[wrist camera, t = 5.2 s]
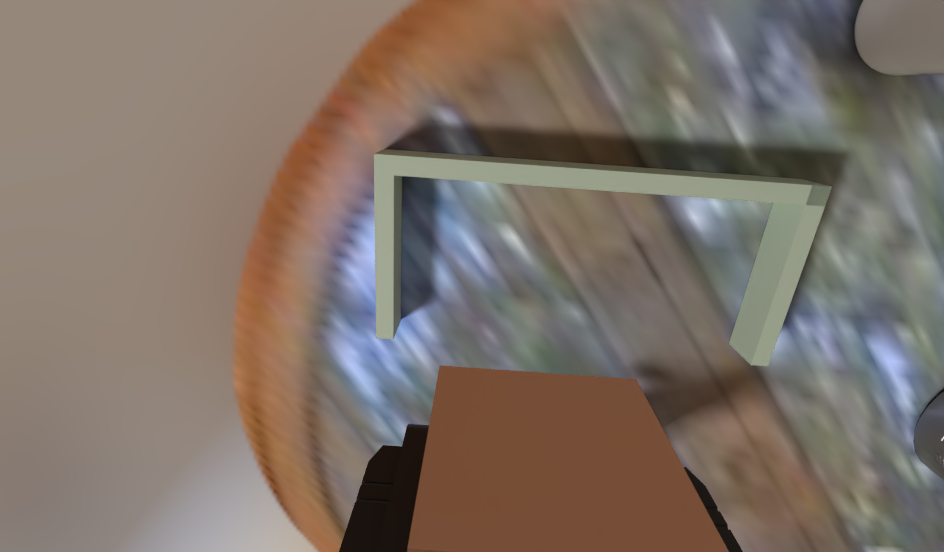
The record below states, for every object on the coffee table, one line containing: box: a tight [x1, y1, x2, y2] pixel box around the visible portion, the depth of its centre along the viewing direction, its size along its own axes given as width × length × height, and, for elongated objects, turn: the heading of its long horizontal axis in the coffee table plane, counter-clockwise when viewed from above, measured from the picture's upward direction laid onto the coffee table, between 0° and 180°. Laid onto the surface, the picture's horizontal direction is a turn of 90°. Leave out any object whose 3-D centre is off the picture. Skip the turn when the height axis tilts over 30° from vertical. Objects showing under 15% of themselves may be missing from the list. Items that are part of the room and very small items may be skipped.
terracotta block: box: [407, 366, 729, 552], centre depth 9 cm, size 4×4×4 cm
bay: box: [374, 149, 832, 366], centre depth 25 cm, size 23×10×2 cm, turn 86°
